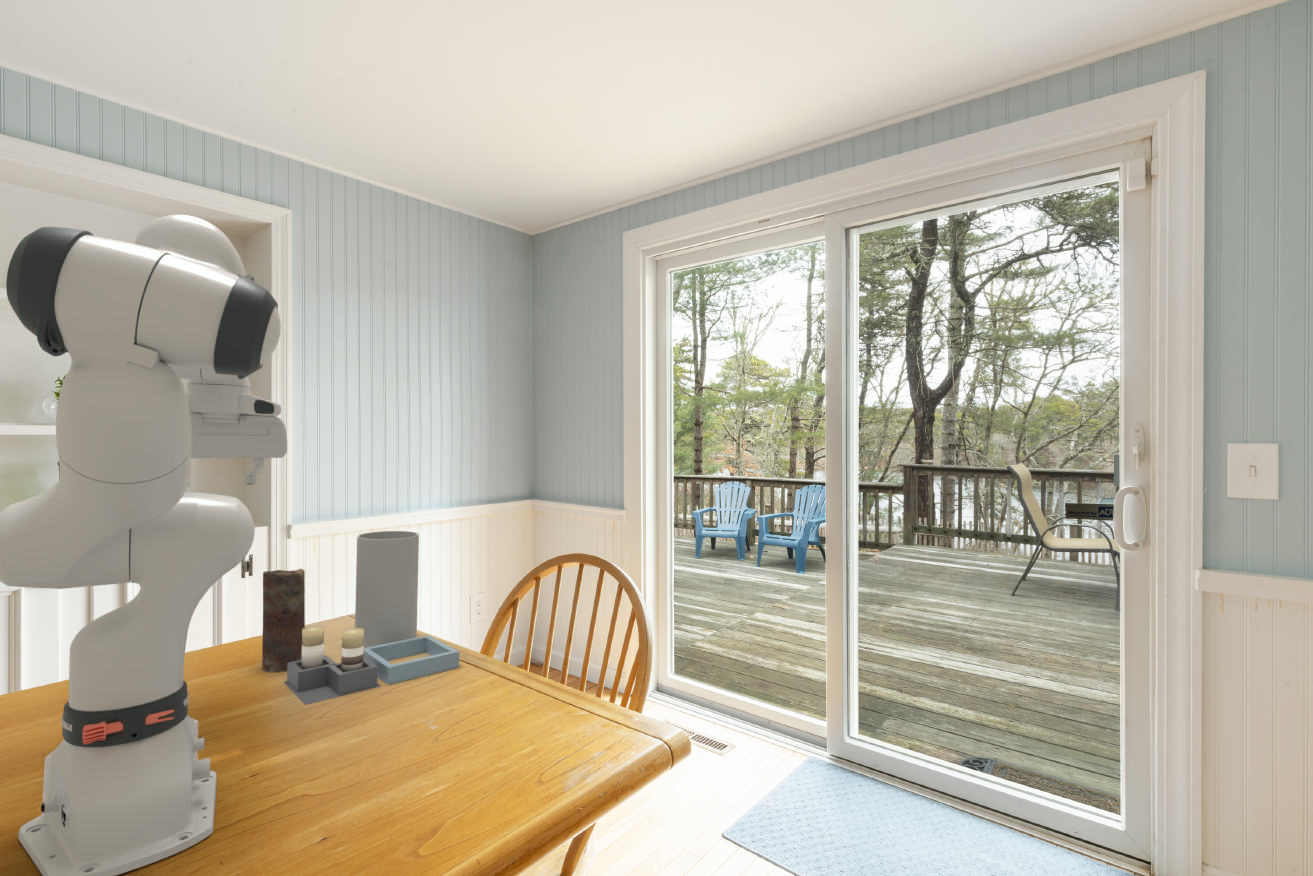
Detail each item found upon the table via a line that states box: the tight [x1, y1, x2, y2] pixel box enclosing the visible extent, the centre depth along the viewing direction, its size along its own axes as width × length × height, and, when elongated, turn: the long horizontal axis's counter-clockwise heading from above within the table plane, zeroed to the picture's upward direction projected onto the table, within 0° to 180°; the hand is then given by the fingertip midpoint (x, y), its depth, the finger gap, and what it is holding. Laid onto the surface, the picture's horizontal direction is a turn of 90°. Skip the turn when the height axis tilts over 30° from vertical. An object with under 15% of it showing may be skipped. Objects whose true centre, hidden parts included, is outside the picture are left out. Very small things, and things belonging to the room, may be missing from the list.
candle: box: [261, 568, 306, 673], centre depth 126 cm, size 8×7×20 cm
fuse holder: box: [283, 654, 381, 706], centre depth 118 cm, size 14×13×4 cm
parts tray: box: [363, 634, 460, 686], centre depth 128 cm, size 14×14×4 cm
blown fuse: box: [340, 627, 364, 672], centre depth 117 cm, size 4×4×10 cm
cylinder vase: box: [354, 530, 420, 648], centre depth 140 cm, size 12×12×25 cm
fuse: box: [301, 624, 325, 670], centre depth 118 cm, size 4×4×10 cm
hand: (217, 485), depth 108 cm, fingers open, 8 cm apart
